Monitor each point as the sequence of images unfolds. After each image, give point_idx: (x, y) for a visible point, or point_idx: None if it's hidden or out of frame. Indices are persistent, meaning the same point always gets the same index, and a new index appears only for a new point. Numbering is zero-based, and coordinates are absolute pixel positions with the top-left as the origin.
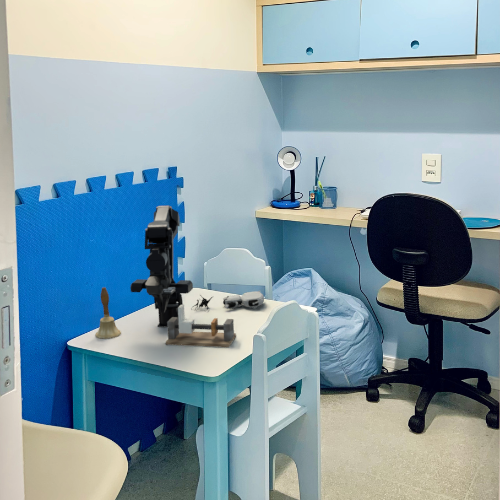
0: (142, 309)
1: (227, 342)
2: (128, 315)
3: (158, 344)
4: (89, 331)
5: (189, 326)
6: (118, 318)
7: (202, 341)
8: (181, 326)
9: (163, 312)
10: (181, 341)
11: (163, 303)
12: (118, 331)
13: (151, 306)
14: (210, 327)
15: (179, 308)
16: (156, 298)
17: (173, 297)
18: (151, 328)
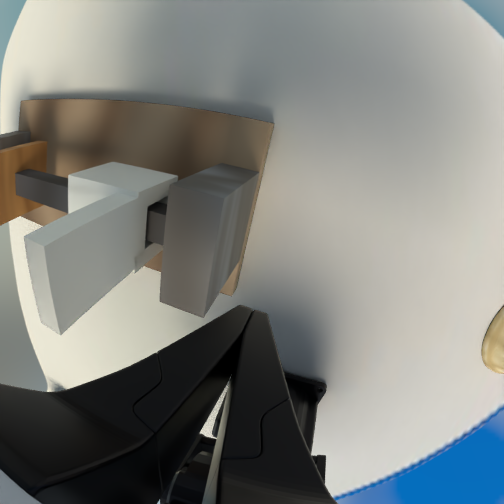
0: (357, 485)
1: (23, 116)
2: (405, 464)
3: (320, 136)
4: None
5: (91, 170)
6: (439, 450)
7: (87, 121)
8: (137, 181)
9: (243, 307)
10: (177, 119)
11: (186, 368)
12: (499, 336)
13: (330, 493)
14: (25, 171)
15: (39, 237)
16: (284, 474)
17: (191, 483)
18: (354, 375)
